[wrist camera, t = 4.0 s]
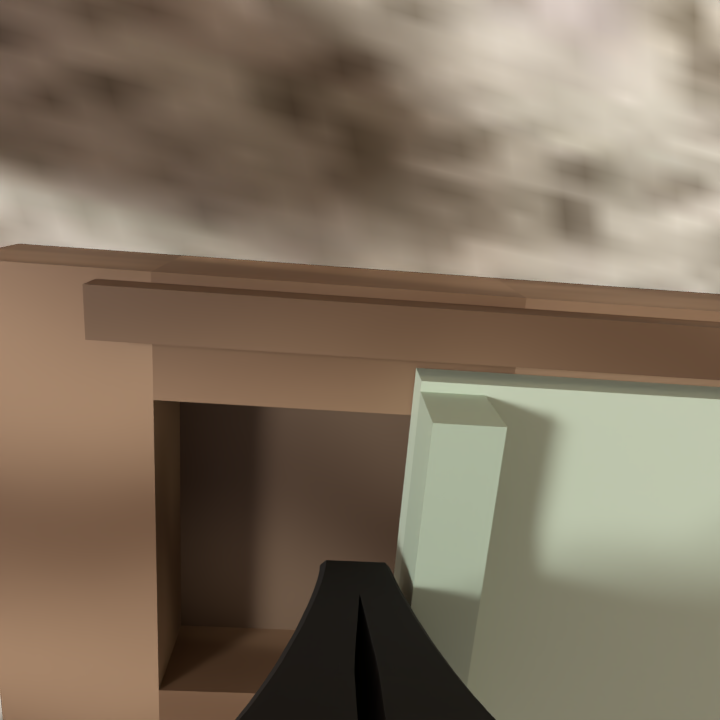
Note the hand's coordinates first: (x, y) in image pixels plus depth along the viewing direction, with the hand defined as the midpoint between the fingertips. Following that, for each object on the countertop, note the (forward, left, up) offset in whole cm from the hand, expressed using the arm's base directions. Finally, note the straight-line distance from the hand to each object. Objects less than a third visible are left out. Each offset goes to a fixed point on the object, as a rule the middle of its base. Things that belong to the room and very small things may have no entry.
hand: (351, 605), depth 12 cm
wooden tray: (0, -3, -4) cm, 5 cm away
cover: (0, -5, -1) cm, 5 cm away
